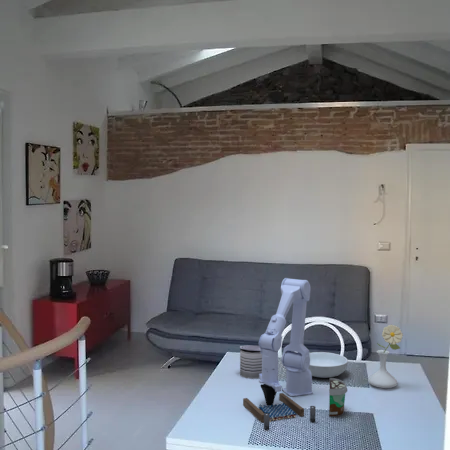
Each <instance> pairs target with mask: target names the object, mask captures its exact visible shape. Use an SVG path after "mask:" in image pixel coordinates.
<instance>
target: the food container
mask: <svg viewBox="0 0 450 450" xmlns="http://www.w3.org/2000/svg"><path fill="white" fill-rule="evenodd" d="M328 390H329V394H328V395H329V399H328V401H329V403H328V409H329V410H328V417H330V418H331V417H340V416H342V415H343V414H344V412H345V401H346V399H345V398H346V393H347V392H348V387H347V384H346V382H345V381H343V380H341V379H339V378H334V377H329V389H328Z"/></svg>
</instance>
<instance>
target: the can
mask: <svg viewBox="0 0 450 450" xmlns="http://www.w3.org/2000/svg"><path fill="white" fill-rule="evenodd" d="M239 348H240V349H239V350H240V351H239V352H240V354H239V356H240V357H239V360H240V361H239V376H240V377H242V378H245V379H251V380H257V379H258V380H260V379H259V374H261V373H262V354H261V353H260V347H259V345H252V344H251V345H249V344H248V345H240V346H239Z"/></svg>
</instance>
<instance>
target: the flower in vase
mask: <svg viewBox="0 0 450 450" xmlns="http://www.w3.org/2000/svg"><path fill="white" fill-rule="evenodd" d="M403 334H404V333H403V332H402V330H401V328H400V327H399V326H396V325H394V324H388V325H387V326H384V327H383V331H382V333H381V337H383V339H384V342H386V343H387V344H388V345H387V347H385V346H384V345H381V344H380V343H378V342H377V343H376V344H377V345H378V346H379V347H381V348H384V350H383V349H378V350H376V353H377V354H378V357H379V369H378V370H377V371H376V372H374V373H373V374H371V375H370V376H369V377H368V379H367V381H368V383H369V384H370V385H372V386H373V387H377V388H381V389H390V388H395V387H396V386H397V385H398V384H399V382H398V380H397V378H395V377H394V376H393V374H391V373H390V372H389V371H387V358H388V357H389V354H390V351H389V350H387V349H388V348H389V347H390V348H391V349H392V350H394V351H396V350H399V349H401V347H400V346H399V343H401V342H402V339H403V336H404V335H403Z"/></svg>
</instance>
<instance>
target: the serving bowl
mask: <svg viewBox="0 0 450 450" xmlns="http://www.w3.org/2000/svg"><path fill="white" fill-rule="evenodd" d="M309 356H310V365H309V368H308V369H309V370H310V371H311V374H312V377H316V378H319V379H320V378H321V379H323V378H325V379H326V378H327V379H328V378H329V379H330V378H334V377H337V376H340V375H341V374H343V373H344V372H345V371H346V369H347V367H348V363H349V360H348V358H347V357H345V356H344V355H341V354H338V353H333V352H328V351H327V352H324V351H313V352H309Z"/></svg>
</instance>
